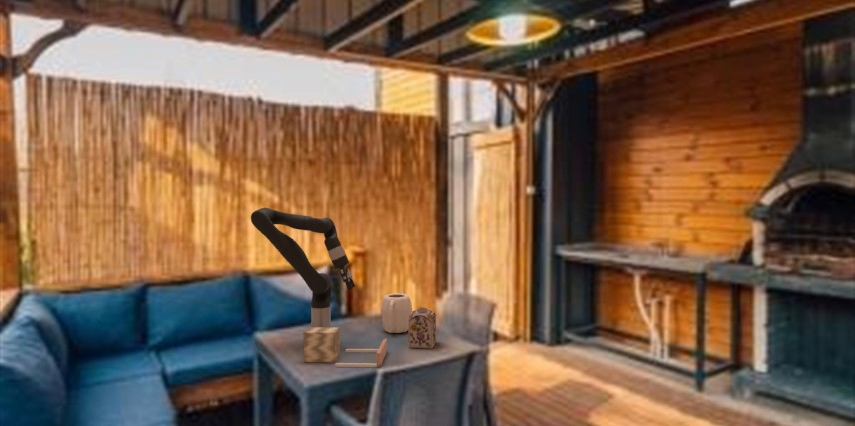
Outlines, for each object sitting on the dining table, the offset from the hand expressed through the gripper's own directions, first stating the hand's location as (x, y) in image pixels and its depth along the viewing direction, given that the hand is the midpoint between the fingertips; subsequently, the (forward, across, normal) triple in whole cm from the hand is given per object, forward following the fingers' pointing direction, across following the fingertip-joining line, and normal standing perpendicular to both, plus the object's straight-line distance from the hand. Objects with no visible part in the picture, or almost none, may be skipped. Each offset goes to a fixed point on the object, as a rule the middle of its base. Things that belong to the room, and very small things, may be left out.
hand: (352, 288), depth 292 cm
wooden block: (+22, +20, -21) cm, 36 cm away
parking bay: (+29, +21, -5) cm, 36 cm away
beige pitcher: (+31, -29, +8) cm, 43 cm away
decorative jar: (+38, -1, +20) cm, 43 cm away
